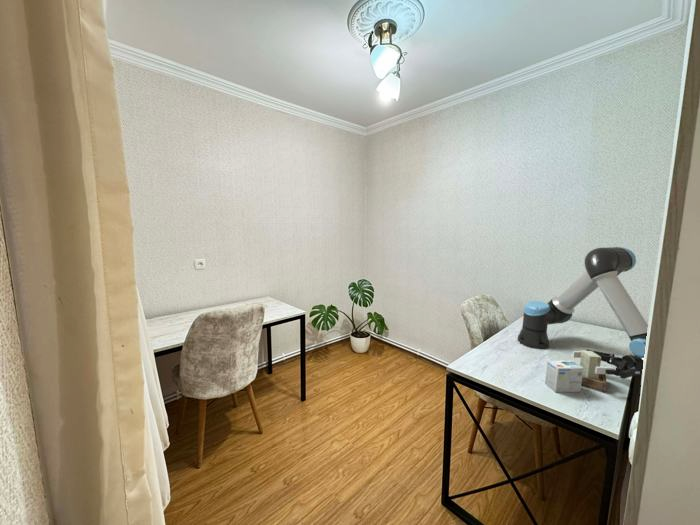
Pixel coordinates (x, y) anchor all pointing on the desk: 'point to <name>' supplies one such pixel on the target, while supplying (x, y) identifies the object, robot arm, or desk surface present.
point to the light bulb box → (564, 376)
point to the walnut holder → (595, 383)
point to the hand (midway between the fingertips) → (583, 361)
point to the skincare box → (590, 364)
